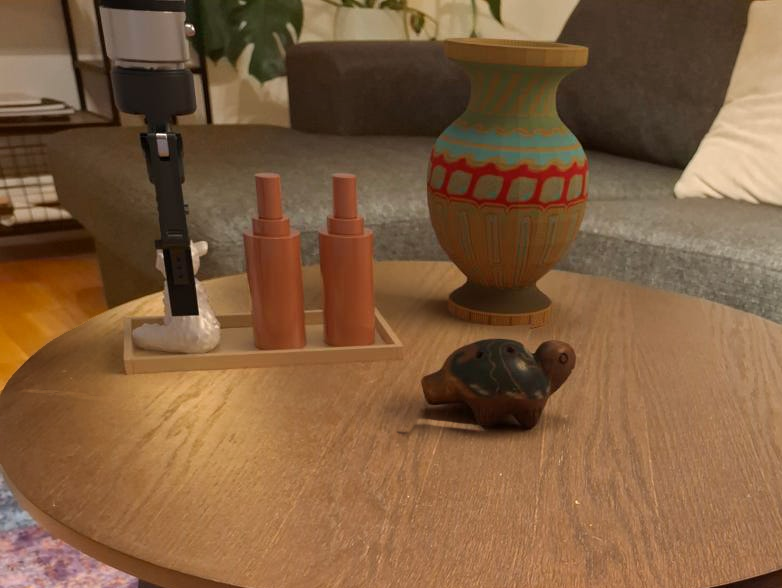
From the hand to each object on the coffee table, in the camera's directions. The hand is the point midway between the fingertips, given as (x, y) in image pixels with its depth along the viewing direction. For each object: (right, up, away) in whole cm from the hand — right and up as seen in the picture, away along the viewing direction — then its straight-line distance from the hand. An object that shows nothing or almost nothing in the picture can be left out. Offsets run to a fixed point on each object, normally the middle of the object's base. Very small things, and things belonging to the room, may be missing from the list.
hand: (182, 296), depth 98 cm
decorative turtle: (+34, -15, -7) cm, 38 cm away
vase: (+35, +6, +22) cm, 42 cm away
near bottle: (+9, -3, +6) cm, 12 cm away
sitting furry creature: (0, -4, +4) cm, 6 cm away
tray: (+7, -4, +6) cm, 10 cm away
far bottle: (+17, -2, +8) cm, 19 cm away
